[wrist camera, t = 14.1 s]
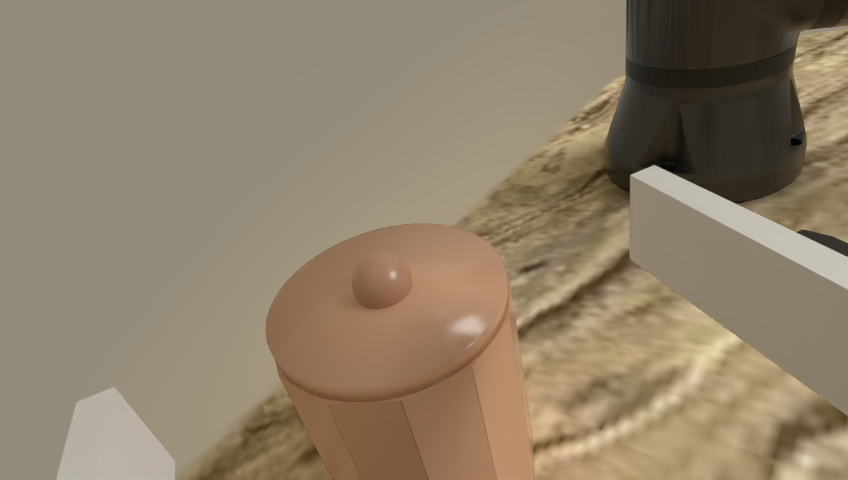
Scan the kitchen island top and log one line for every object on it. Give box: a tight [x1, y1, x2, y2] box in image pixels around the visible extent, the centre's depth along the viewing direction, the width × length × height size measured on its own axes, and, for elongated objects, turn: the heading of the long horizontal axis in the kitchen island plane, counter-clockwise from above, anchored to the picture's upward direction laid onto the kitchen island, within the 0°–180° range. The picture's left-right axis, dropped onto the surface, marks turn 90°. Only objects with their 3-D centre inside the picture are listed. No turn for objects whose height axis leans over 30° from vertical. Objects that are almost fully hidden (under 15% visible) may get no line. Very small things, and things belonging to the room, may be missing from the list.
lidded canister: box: [266, 224, 535, 480], centre depth 23 cm, size 10×10×13 cm
